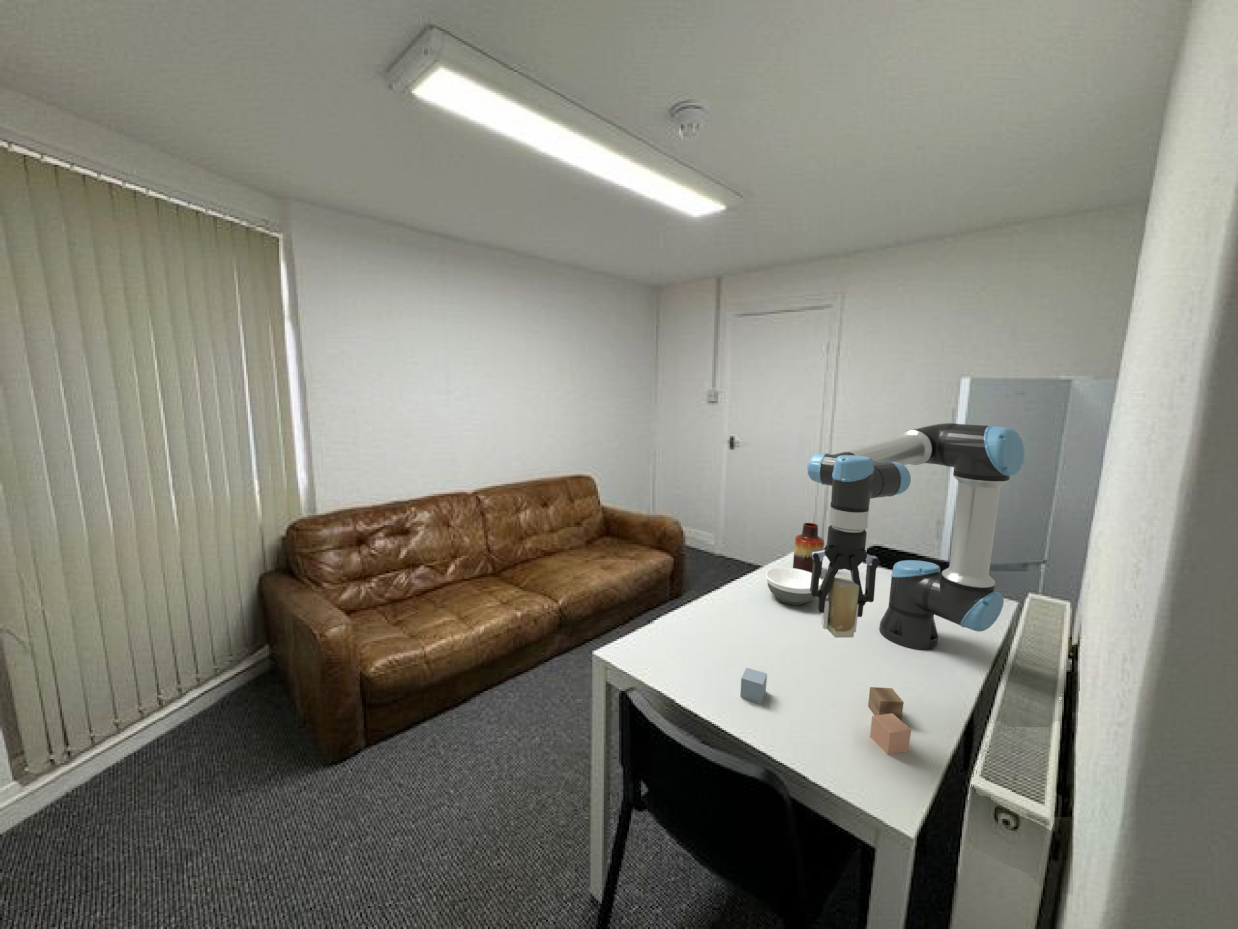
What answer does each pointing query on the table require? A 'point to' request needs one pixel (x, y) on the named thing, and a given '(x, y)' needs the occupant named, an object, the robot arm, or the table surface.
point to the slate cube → (753, 685)
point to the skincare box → (842, 606)
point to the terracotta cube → (890, 733)
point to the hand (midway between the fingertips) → (838, 627)
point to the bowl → (791, 585)
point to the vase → (807, 547)
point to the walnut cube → (885, 702)
